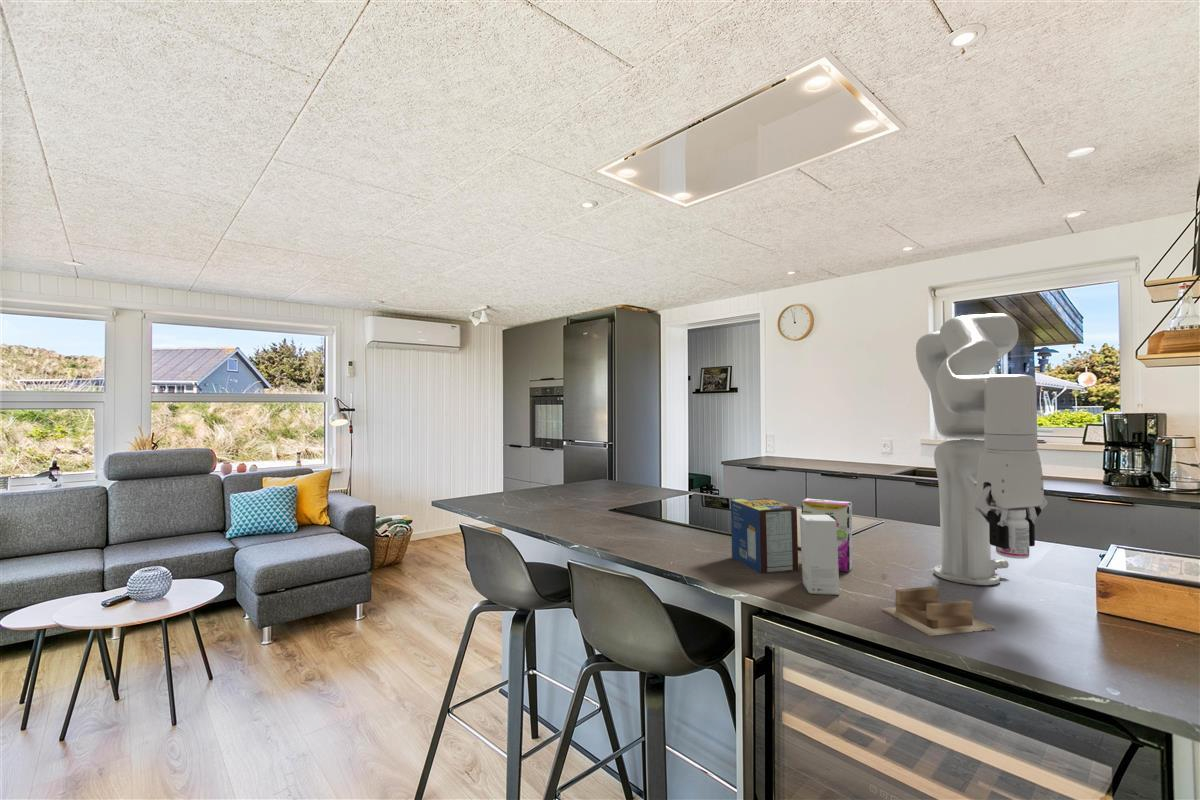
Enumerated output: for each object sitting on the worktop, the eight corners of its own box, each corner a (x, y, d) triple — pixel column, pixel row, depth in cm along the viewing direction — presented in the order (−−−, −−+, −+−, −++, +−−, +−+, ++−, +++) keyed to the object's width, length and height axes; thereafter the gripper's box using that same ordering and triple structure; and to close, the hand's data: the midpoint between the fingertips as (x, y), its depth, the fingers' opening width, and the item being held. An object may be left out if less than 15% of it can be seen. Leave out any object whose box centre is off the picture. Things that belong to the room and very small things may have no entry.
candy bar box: (801, 566, 133) (800, 500, 134) (805, 561, 138) (804, 497, 138) (850, 573, 127) (849, 504, 128) (853, 567, 132) (852, 501, 132)
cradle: (940, 605, 106) (939, 583, 106) (994, 629, 94) (994, 604, 94) (881, 610, 104) (881, 587, 104) (930, 635, 92) (929, 610, 92)
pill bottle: (989, 552, 98) (988, 506, 98) (1012, 550, 98) (1012, 504, 98) (1011, 560, 93) (1011, 511, 93) (1036, 558, 93) (1036, 510, 93)
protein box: (766, 554, 145) (765, 497, 145) (799, 571, 130) (797, 507, 130) (730, 557, 142) (729, 499, 143) (759, 574, 127) (758, 509, 128)
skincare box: (840, 596, 112) (838, 521, 112) (806, 594, 113) (805, 520, 114) (831, 583, 120) (829, 513, 121) (800, 581, 122) (798, 513, 122)
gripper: (1028, 440, 101) (1030, 536, 101) (952, 444, 97) (953, 543, 98) (1071, 443, 93) (1072, 547, 93) (989, 447, 90) (991, 555, 90)
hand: (1011, 544), depth 96 cm, fingers closed on pill bottle, 4 cm apart
